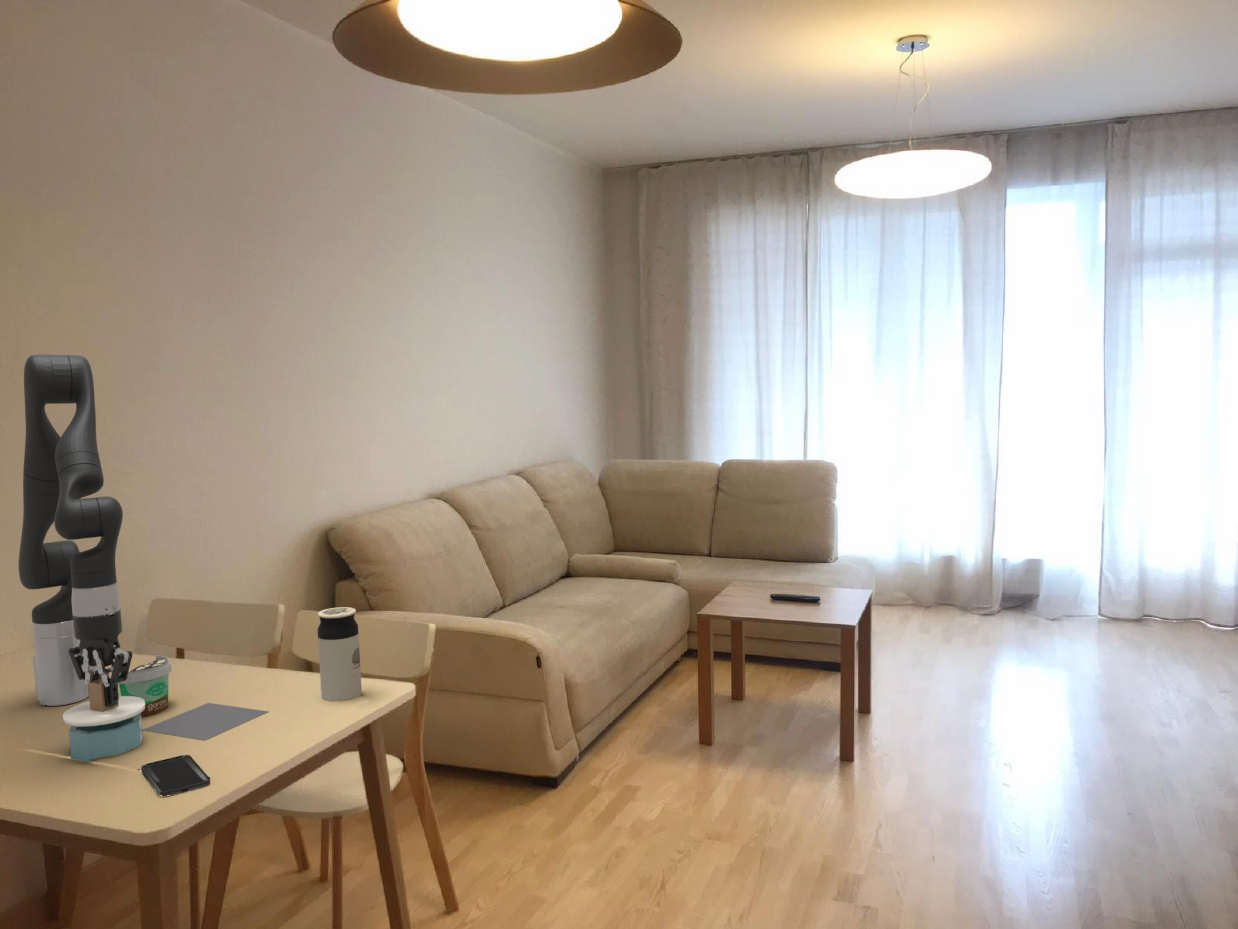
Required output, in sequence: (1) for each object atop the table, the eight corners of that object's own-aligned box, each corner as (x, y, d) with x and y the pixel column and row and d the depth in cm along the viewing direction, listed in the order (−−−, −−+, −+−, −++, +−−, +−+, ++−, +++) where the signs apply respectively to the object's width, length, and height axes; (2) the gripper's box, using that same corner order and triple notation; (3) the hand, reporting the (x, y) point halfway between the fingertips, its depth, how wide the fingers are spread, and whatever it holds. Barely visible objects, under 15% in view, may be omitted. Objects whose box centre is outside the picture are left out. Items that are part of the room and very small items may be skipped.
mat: (141, 733, 183) (141, 730, 183) (208, 705, 198) (208, 702, 198) (205, 743, 177) (205, 740, 177) (269, 714, 192) (269, 711, 191)
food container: (147, 725, 188) (143, 674, 187) (119, 723, 189) (115, 673, 188) (188, 703, 200) (184, 655, 199) (161, 702, 201) (157, 654, 200)
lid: (46, 721, 172) (43, 688, 171) (111, 698, 184) (108, 667, 183) (98, 730, 167) (95, 696, 166) (161, 705, 178) (159, 673, 178)
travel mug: (313, 702, 198) (308, 614, 197) (337, 689, 206) (332, 605, 204) (346, 705, 195) (341, 617, 194) (369, 693, 203) (365, 607, 201)
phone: (188, 753, 171) (211, 780, 159) (189, 760, 171) (212, 787, 159) (139, 765, 166) (159, 794, 154) (139, 772, 166) (159, 800, 154)
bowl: (58, 756, 173) (56, 729, 172) (113, 734, 183) (111, 708, 182) (102, 765, 168) (100, 736, 168) (155, 742, 179) (153, 715, 178)
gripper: (49, 612, 173) (58, 707, 174) (105, 617, 167) (114, 715, 169) (87, 602, 180) (95, 694, 181) (143, 607, 174) (150, 702, 176)
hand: (104, 704), depth 175 cm, fingers closed on lid, 3 cm apart
